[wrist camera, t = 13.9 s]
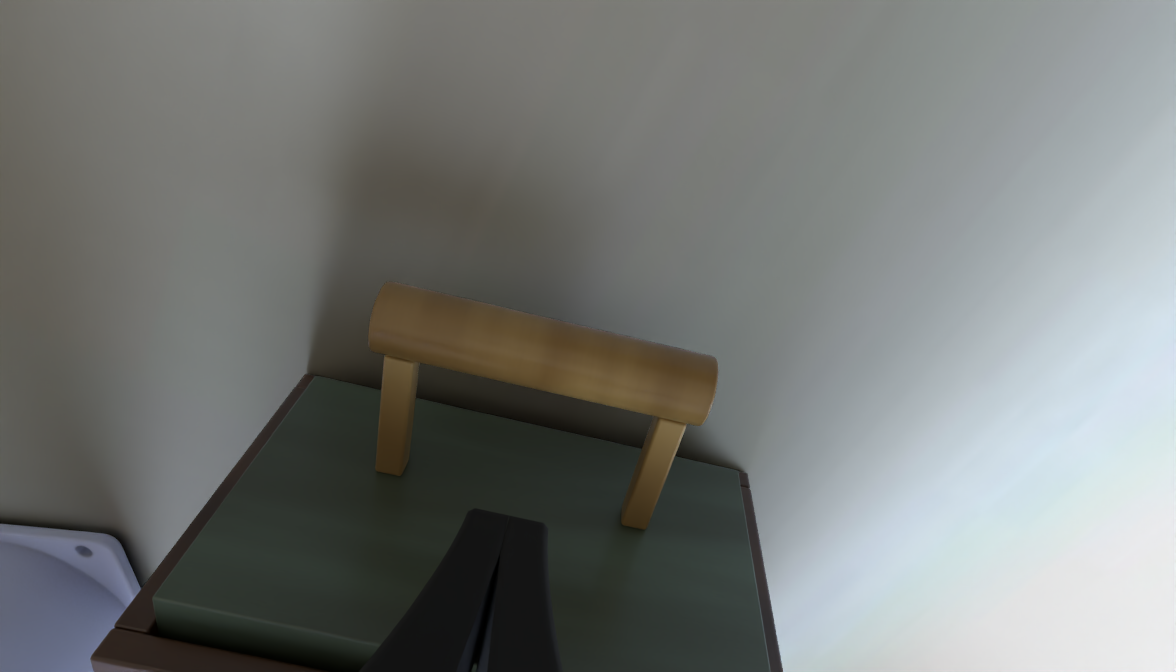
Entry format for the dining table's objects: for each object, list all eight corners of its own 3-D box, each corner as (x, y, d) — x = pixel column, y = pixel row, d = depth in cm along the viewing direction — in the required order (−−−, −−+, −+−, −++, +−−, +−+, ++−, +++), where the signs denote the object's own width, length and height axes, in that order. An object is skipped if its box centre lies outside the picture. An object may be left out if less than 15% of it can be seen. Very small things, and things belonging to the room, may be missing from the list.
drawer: (317, 207, 15) (111, 385, 9) (806, 324, 15) (898, 559, 10) (311, 667, 24) (206, 899, 18) (618, 730, 24) (609, 974, 19)
